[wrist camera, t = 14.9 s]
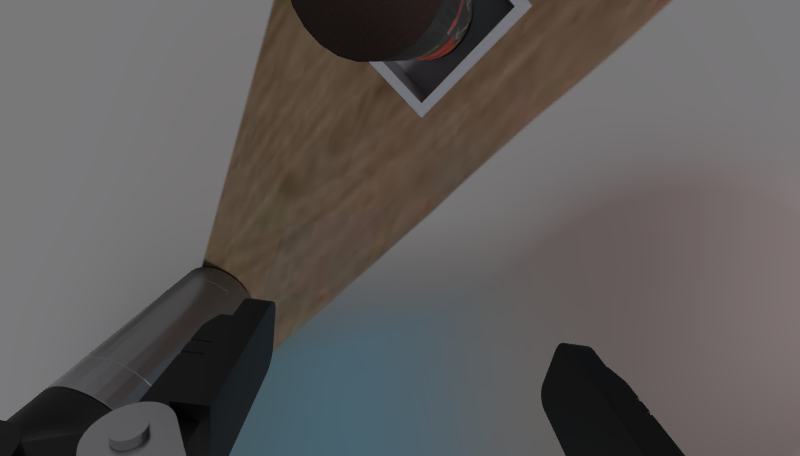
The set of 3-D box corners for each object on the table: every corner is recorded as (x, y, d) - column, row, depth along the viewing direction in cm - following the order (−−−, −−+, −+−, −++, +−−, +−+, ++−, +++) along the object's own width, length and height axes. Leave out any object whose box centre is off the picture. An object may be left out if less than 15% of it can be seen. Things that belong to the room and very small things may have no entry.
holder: (429, 107, 30) (421, 117, 26) (344, 15, 28) (323, 14, 25) (527, 8, 25) (532, 5, 22) (432, -109, 24) (422, -131, 20)
